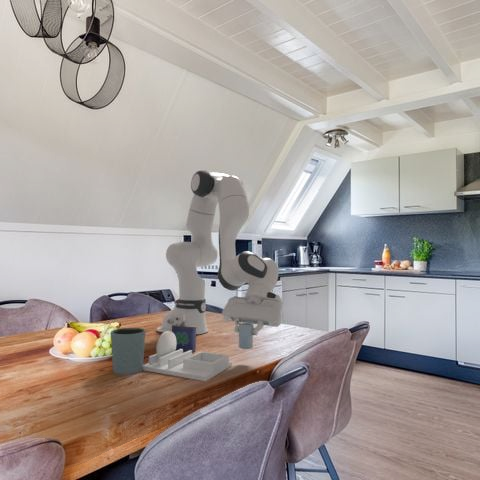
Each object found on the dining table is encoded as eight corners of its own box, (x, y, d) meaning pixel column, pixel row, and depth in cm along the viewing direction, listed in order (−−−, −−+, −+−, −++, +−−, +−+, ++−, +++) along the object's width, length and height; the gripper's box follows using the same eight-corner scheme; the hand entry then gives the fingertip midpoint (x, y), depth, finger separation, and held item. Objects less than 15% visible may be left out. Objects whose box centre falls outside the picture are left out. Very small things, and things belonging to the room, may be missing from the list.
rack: (141, 369, 116) (142, 335, 116) (172, 356, 131) (173, 326, 131) (205, 381, 107) (206, 343, 107) (231, 365, 121) (231, 332, 122)
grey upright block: (236, 347, 124) (236, 325, 124) (242, 344, 128) (242, 322, 128) (249, 349, 122) (250, 326, 122) (254, 346, 126) (255, 324, 126)
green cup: (125, 378, 109) (126, 335, 109) (102, 372, 114) (102, 331, 115) (152, 369, 118) (152, 329, 118) (129, 364, 123) (129, 325, 123)
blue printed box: (196, 350, 138) (197, 320, 139) (193, 353, 136) (193, 322, 136) (173, 348, 141) (173, 319, 141) (169, 350, 138) (169, 320, 138)
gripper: (227, 290, 136) (213, 323, 127) (283, 295, 127) (272, 331, 118) (232, 301, 140) (219, 334, 131) (287, 307, 131) (277, 342, 122)
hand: (245, 333), depth 125 cm, fingers closed on grey upright block, 5 cm apart
